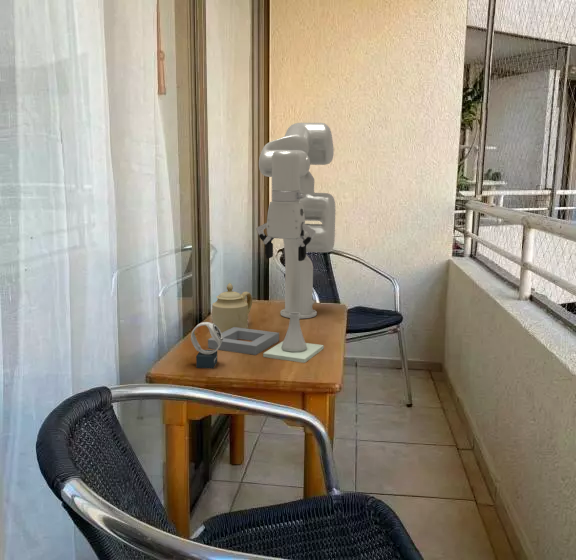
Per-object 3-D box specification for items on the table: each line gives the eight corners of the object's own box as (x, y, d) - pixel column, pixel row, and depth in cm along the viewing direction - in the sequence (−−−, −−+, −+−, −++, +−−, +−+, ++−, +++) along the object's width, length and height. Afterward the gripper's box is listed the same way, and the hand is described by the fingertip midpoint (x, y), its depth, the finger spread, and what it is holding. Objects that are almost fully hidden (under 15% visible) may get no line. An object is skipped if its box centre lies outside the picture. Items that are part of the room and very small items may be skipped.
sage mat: (284, 343, 171) (284, 340, 171) (323, 348, 166) (323, 345, 166) (263, 356, 158) (263, 353, 158) (304, 362, 153) (304, 359, 153)
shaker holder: (234, 335, 179) (234, 327, 179) (279, 341, 173) (279, 332, 173) (208, 348, 166) (207, 339, 165) (255, 355, 160) (255, 346, 159)
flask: (305, 353, 158) (305, 317, 156) (278, 351, 159) (278, 315, 158) (309, 346, 165) (309, 311, 163) (283, 344, 166) (284, 309, 165)
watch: (221, 368, 148) (220, 326, 146) (189, 367, 149) (188, 325, 147) (224, 361, 154) (224, 320, 152) (194, 360, 154) (193, 319, 152)
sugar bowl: (220, 322, 195) (219, 277, 192) (253, 323, 193) (253, 278, 191) (208, 334, 180) (207, 285, 178) (244, 335, 179) (243, 286, 176)
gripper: (320, 197, 161) (319, 259, 165) (262, 195, 167) (263, 254, 171) (310, 199, 154) (309, 263, 158) (250, 197, 161) (251, 259, 164)
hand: (285, 259), depth 164 cm, fingers open, 9 cm apart
